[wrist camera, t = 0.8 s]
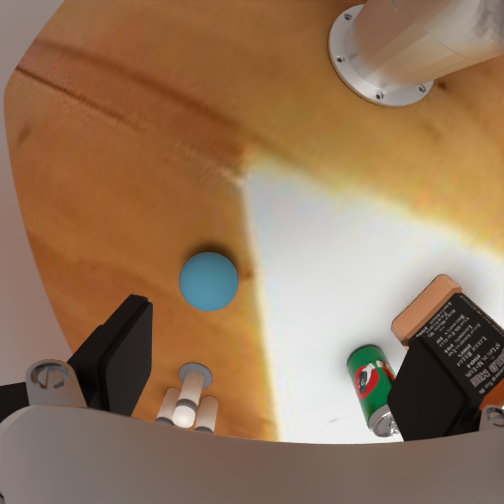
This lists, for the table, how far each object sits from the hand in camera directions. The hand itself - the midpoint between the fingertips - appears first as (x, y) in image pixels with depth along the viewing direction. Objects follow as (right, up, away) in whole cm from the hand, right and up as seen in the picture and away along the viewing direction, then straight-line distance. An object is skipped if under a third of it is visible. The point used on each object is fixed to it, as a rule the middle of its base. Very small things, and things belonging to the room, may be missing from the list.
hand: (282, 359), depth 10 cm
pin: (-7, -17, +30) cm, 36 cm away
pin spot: (-8, -13, +29) cm, 33 cm away
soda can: (+14, -10, +28) cm, 33 cm away
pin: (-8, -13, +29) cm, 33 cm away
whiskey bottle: (+23, -5, +26) cm, 35 cm away
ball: (-5, +1, +22) cm, 23 cm away
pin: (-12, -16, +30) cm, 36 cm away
